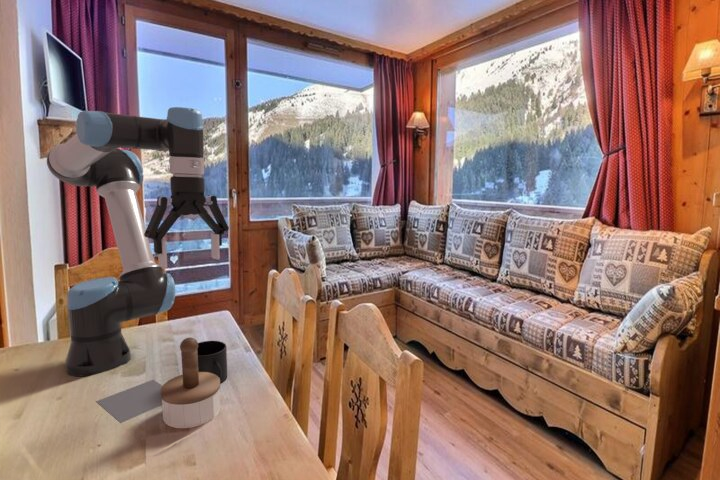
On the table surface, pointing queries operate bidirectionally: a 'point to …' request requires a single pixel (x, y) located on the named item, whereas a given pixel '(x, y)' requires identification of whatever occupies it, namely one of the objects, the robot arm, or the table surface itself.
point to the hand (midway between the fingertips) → (190, 262)
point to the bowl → (191, 412)
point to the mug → (213, 358)
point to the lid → (190, 379)
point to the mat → (133, 401)
